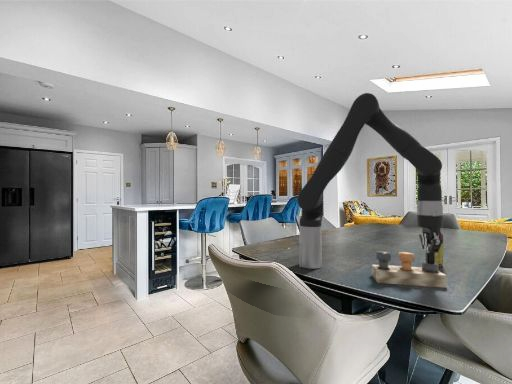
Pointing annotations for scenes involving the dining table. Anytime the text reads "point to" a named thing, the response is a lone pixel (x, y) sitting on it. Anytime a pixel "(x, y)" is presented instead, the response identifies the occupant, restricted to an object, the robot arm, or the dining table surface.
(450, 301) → the dining table surface
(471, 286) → the dining table surface
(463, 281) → the dining table surface
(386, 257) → the left knob
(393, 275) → the knob mount
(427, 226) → the robot arm
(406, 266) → the middle knob
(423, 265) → the right knob
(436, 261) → the sauce bottle
